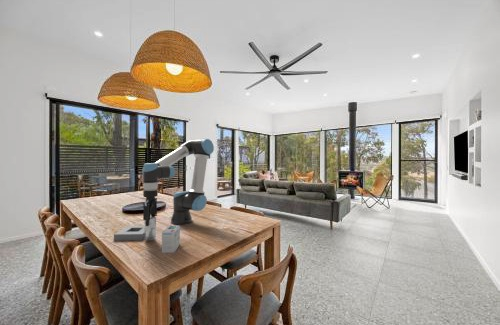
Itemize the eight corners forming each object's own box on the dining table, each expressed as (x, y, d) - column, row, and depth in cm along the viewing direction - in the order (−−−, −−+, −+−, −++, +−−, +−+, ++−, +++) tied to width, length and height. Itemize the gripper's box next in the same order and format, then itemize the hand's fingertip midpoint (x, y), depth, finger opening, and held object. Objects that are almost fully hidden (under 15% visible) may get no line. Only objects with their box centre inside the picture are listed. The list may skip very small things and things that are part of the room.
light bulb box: (167, 244, 116) (168, 225, 116) (180, 244, 117) (180, 225, 117) (161, 253, 106) (161, 232, 106) (174, 252, 106) (175, 231, 106)
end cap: (157, 236, 123) (157, 216, 123) (153, 240, 117) (153, 218, 117) (147, 236, 123) (147, 216, 123) (142, 240, 117) (142, 219, 117)
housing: (153, 231, 137) (153, 225, 137) (142, 240, 121) (142, 234, 121) (128, 231, 136) (128, 225, 136) (113, 241, 120) (113, 234, 120)
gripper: (150, 187, 129) (150, 224, 129) (135, 192, 110) (135, 235, 110) (162, 187, 130) (162, 224, 130) (150, 192, 111) (150, 235, 111)
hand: (150, 229), depth 120 cm, fingers closed on end cap, 6 cm apart
